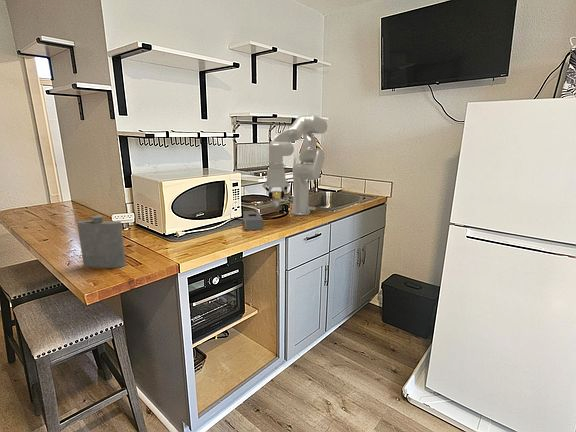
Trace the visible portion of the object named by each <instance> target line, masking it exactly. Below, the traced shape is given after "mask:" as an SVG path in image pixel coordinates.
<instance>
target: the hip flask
mask: <svg viewBox="0 0 576 432" xmlns="http://www.w3.org/2000/svg"><path fill="white" fill-rule="evenodd" d="M103 219H104V216H103V215H101V214H96V215H93V216H91V220H89V219H88V220H79V221H77V222H76V223H77V229H78V236H79V243H80V249H81V256H82V262H83V267H85V268H97V269H98V268H99V269H113V268H114V269H115V268H116V269H117V268H124V267H126V265H127V263H126V262H127V261H126V253H125V245H124V237H123V229H122V228H123V227H122V222H121V221H120V220H119V221H118V220H115V221H108V220H107V221H106V220H105V221H104V220H103Z"/></svg>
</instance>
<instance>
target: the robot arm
mask: <svg viewBox="0 0 576 432" xmlns="http://www.w3.org/2000/svg"><path fill="white" fill-rule="evenodd" d="M327 130H328V123H327V121H326V120H325V119H324V118H322V117H319V116H317V115H314V114H313V115H299V116H297V118H296V119H295V120H294V121H293V123H292V124H291V125H290V127H289V128H288V129H285V130H283V131H282V132H280V133H278V134H277V135H275V136H274V137H273V138H272V140H271V141H270V142H269V145H268V168H267V171H266V180H265V182H264V183H263V184H262V187H263V189H264V190H265V191H267V195H268V199H270V200H271V201H272V200H273V199H272V193H271V192H272V189H273V188H280V189H281V190H280V191H281V192H282V200H283V199H284V198H285V193H286V191H287V189H288V188H289V187H290V186H291V184H290V183H289V182H288V181H287V179H286V171H285V168H284V167H286V163H284V157H289V156H291V155H293V153H294V151H295V147H294V144H293V142H296V141H299V140H300V139H301V137H302V138H303V141H302V145H301V148H300V152H299V155H298V156H299V157H298V158H299V162H300V163H296V164H294V165H293V166H292V169H291V171H292V173H291V174H292V179H293V198H292V199H293V201H292V209H291V210H290V214H292V215H295V216H307V215H310V214H311V212H312V211H316V207H315V206H309V193H310V192H309V190H310V189H309V187H310V186H309V182H308V181H307V180H310V181H316V180H318V179H319V178H320V175H321V172H322V168H323V164H324V161H325V151H324V150H323V148H319V147H317V139H316V138H315V136H314V135H315V134H316V135H317V134H319V135H320V134H321V135H322V134H324V133H326V132H327ZM313 134H314V135H313ZM316 147H317V148H316Z"/></svg>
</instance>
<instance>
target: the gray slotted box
mask: <svg viewBox="0 0 576 432" xmlns="http://www.w3.org/2000/svg"><path fill="white" fill-rule="evenodd" d="M254 211H255V210H243V212H242V218H243V219H242V221H243V225H244V228H245V231H261V230H264V219H263V216H262V215H261V213H260V211H259V212H254Z"/></svg>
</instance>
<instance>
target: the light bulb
mask: <svg viewBox="0 0 576 432" xmlns="http://www.w3.org/2000/svg"><path fill="white" fill-rule="evenodd" d="M281 191H282V190H273V191H272V190H271V193H272V199H271V200H273V207H274V208H279V207H280V200H281V199H282V192H281ZM282 200H283V199H282Z"/></svg>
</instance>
